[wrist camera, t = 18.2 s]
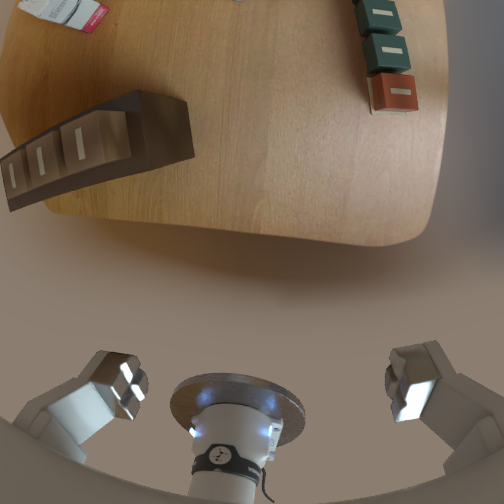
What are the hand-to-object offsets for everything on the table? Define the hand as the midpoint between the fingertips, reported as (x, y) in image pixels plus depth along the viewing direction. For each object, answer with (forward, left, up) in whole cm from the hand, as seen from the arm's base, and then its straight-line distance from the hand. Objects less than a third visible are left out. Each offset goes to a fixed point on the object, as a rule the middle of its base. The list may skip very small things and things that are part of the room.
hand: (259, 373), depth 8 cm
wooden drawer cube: (+11, -14, -27) cm, 32 cm away
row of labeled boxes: (+18, -14, -27) cm, 35 cm away
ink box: (+33, +24, -27) cm, 49 cm away
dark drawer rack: (+9, +20, -27) cm, 35 cm away
